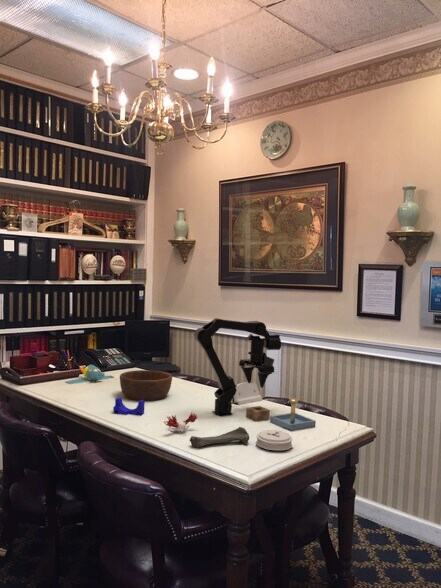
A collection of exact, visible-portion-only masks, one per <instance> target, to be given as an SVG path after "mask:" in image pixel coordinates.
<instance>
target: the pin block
mask: <svg viewBox="0 0 441 588" xmlns="http://www.w3.org/2000/svg"><path fill="white" fill-rule="evenodd" d="M270 410H271V409H268V408H266V407H263V406H260V405H257V406H250V407H246V413H245V414H246V415H245V417H246V418H247V419H249V420H250V421H254V422H255V423H257V422H262V421H267V420H269V421H270V416H271V415H270V414H271V413H270V412H271V411H270Z"/></svg>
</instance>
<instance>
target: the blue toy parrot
mask: <svg viewBox="0 0 441 588" xmlns="http://www.w3.org/2000/svg"><path fill="white" fill-rule="evenodd" d="M79 370H80V371H81V374H82V375H83V376H84V377H81V378H75V379H71V380H67V381H64V383H66V384H68V385H72V384H74V385H75V384H81V383H89V382H93V381H102V380H108V379H114V378H116V377H115V376H113V375H105V372H104V371H103V372H102V371H101V370H100V369H99V367H97V366H95V365H94V364H89V365H87V366H85V368H84V367H83V366H81V367H79Z"/></svg>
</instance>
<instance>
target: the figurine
mask: <svg viewBox="0 0 441 588" xmlns="http://www.w3.org/2000/svg"><path fill="white" fill-rule="evenodd" d="M166 418H167V420H168V421H166V420H164V421H163V424H165V425H166V426H168V430H169V432H173V433H174V432H176V431H178V432H179V433H181V432H182V433H184V431H185V432H188V429H189V427H190V424H189V423H194V422H195V421H196V420H197V419H198V416H197V414H195V413H193V412H192V411H190V415H189V416H188V418H187V419H185V420H182V421H178V420H177V415H176V414H174V415H171V416H166ZM177 421H178V422H177Z"/></svg>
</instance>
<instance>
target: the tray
mask: <svg viewBox="0 0 441 588" xmlns="http://www.w3.org/2000/svg"><path fill="white" fill-rule="evenodd" d="M290 418H291V412H288V413H282V414H274V415H270V418H269V423H271V424H274V425H276V426H277V427H278V426H279V428H282V429H285V430H286V431H289V432H294V431H295V432H296V431H300V430H306V429H312V428H316V423H317V422H316V420H315V419H311V418H310V417H307V416H305V415H302V414H299V413H297V412H295V423H294V424H291V423H290Z"/></svg>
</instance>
